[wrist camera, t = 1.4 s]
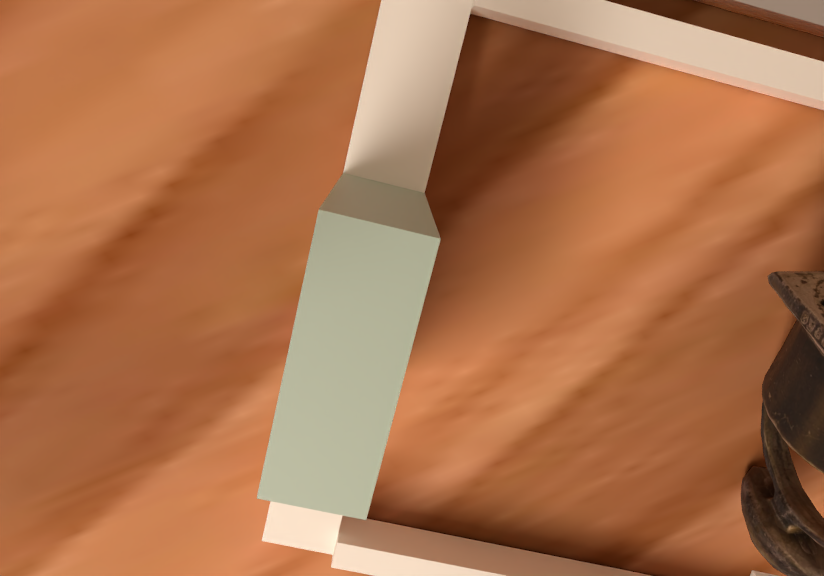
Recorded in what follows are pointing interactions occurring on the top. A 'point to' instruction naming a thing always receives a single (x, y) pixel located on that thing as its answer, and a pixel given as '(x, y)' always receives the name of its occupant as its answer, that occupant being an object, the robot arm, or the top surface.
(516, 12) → the light grey frame
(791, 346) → the brown spool with wire
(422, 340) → the top surface
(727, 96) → the top surface
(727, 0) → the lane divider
